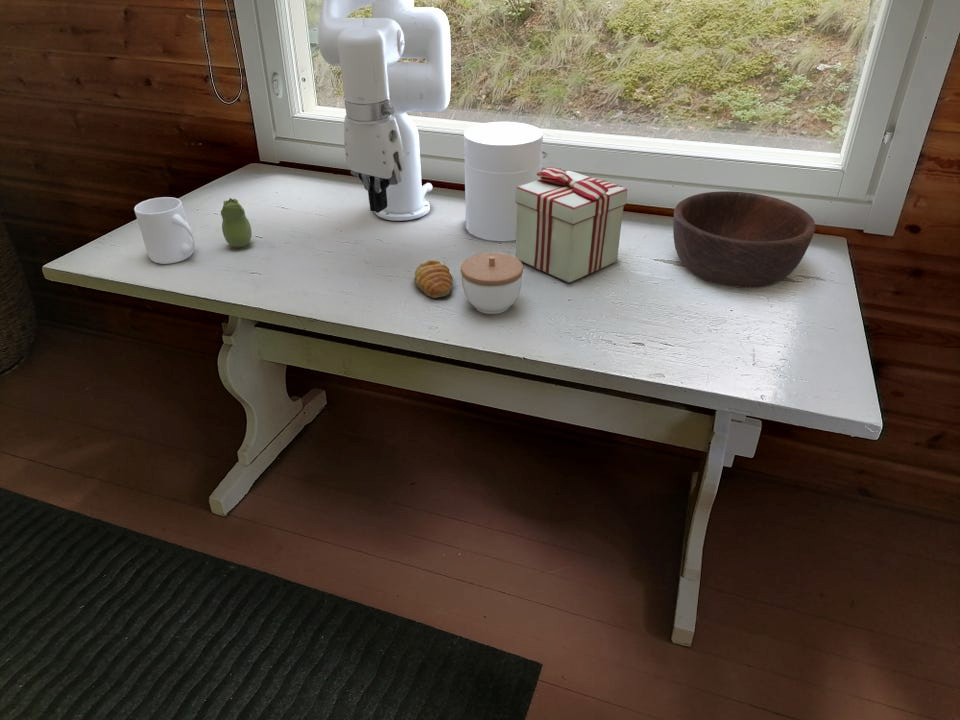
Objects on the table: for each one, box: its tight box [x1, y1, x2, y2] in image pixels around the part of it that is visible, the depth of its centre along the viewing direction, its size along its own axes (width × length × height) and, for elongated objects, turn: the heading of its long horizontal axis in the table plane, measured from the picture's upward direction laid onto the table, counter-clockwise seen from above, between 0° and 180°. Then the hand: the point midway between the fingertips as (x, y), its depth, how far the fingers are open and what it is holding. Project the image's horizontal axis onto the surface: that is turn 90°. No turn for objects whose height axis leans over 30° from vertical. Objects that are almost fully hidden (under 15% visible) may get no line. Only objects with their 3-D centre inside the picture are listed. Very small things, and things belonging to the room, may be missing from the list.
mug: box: [133, 196, 196, 265], centre depth 137 cm, size 9×12×11 cm
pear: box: [220, 197, 253, 249], centre depth 141 cm, size 6×5×10 cm
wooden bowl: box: [672, 190, 816, 288], centre depth 132 cm, size 25×25×10 cm
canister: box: [463, 121, 544, 242], centre depth 145 cm, size 16×16×20 cm
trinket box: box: [460, 252, 524, 315], centre depth 120 cm, size 11×11×9 cm
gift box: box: [515, 166, 628, 284], centre depth 133 cm, size 17×18×17 cm
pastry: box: [414, 259, 454, 299], centre depth 127 cm, size 9×7×4 cm
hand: (379, 209), depth 129 cm, fingers closed
